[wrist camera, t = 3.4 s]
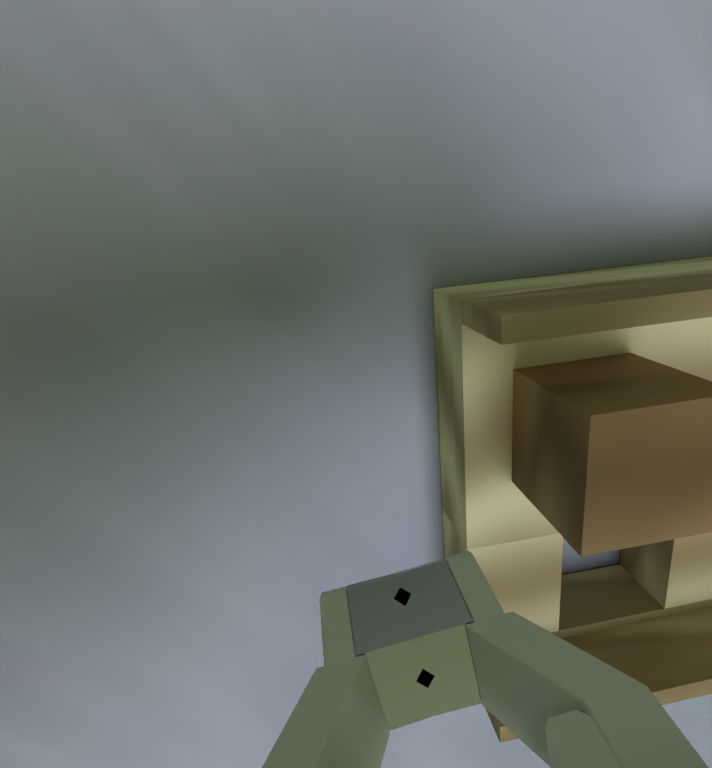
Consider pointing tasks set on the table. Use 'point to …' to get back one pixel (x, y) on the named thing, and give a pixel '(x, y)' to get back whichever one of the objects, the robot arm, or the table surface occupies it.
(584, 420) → the walnut block
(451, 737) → the table surface
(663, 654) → the trap track
